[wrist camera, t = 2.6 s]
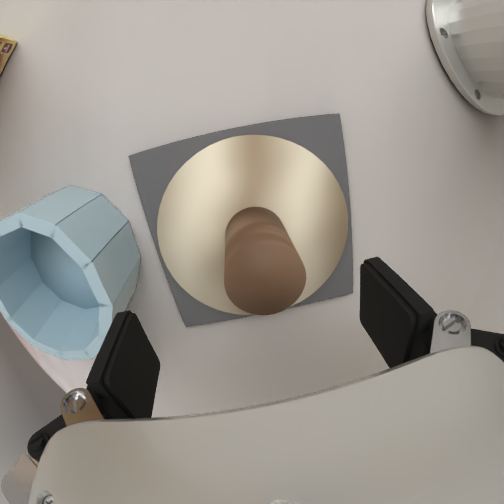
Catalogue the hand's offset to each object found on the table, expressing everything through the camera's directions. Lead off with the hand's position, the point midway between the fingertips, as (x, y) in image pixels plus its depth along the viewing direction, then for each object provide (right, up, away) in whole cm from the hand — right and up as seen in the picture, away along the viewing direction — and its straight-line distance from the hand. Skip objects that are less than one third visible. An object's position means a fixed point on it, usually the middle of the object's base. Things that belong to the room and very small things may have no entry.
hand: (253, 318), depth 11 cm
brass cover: (0, +4, +7) cm, 8 cm away
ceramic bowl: (-13, +2, +7) cm, 15 cm away
